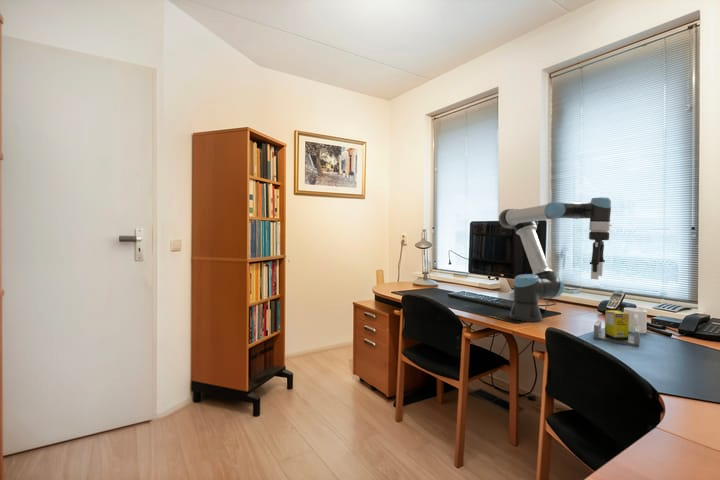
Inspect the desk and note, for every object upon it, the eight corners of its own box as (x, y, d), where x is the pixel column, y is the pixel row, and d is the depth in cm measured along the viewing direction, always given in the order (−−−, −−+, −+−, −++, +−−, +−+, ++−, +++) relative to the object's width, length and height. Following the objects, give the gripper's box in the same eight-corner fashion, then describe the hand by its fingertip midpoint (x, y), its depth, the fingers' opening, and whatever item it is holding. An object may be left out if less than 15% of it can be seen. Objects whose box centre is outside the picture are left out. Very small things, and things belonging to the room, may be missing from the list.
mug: (647, 337, 147) (648, 314, 147) (623, 333, 152) (624, 311, 152) (645, 331, 157) (646, 309, 156) (623, 327, 162) (623, 306, 161)
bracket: (593, 338, 144) (594, 325, 144) (597, 332, 153) (597, 319, 153) (638, 346, 134) (639, 332, 134) (639, 339, 143) (640, 326, 143)
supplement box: (628, 339, 141) (629, 313, 141) (614, 339, 141) (615, 313, 141) (618, 335, 147) (618, 310, 146) (604, 334, 147) (604, 310, 147)
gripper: (606, 232, 140) (603, 281, 142) (612, 231, 159) (609, 275, 160) (585, 231, 145) (582, 279, 147) (593, 230, 164) (590, 273, 165)
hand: (596, 277), depth 153 cm, fingers open, 13 cm apart
